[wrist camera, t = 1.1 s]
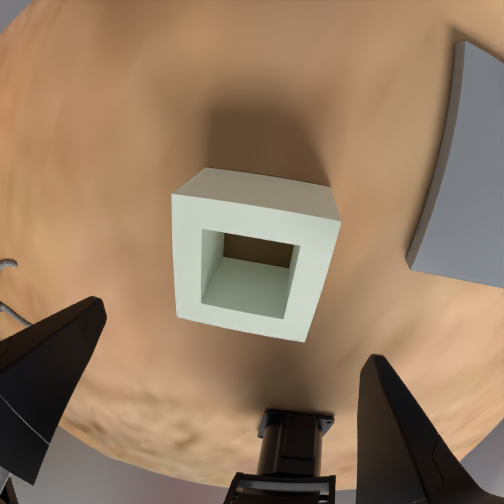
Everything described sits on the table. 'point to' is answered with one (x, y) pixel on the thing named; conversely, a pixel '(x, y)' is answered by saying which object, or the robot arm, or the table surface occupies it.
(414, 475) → the robot arm
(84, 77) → the table surface
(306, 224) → the hollow square sleeve
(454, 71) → the post stand
